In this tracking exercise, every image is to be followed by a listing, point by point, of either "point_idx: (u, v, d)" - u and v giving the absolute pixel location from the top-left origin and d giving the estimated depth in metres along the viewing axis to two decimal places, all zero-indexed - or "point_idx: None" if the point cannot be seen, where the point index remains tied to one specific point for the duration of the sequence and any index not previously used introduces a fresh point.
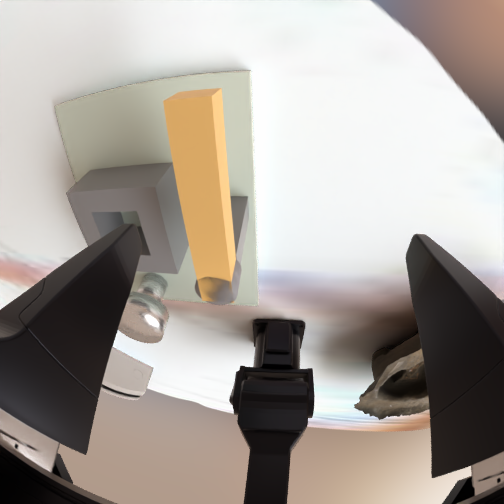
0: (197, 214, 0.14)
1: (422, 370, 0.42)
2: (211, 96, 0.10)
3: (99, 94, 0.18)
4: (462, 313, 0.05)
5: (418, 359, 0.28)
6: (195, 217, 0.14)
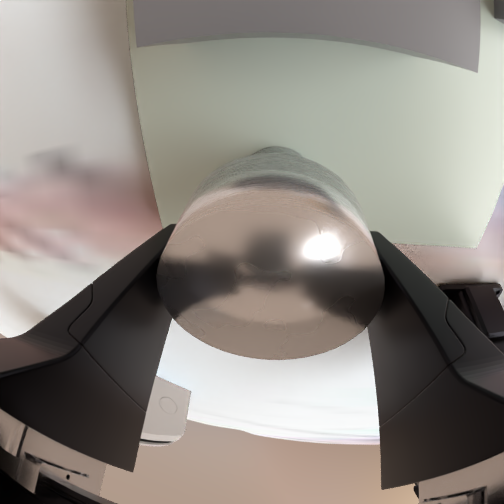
0: None
1: None
2: None
3: None
4: (404, 316, 0.06)
5: None
6: None
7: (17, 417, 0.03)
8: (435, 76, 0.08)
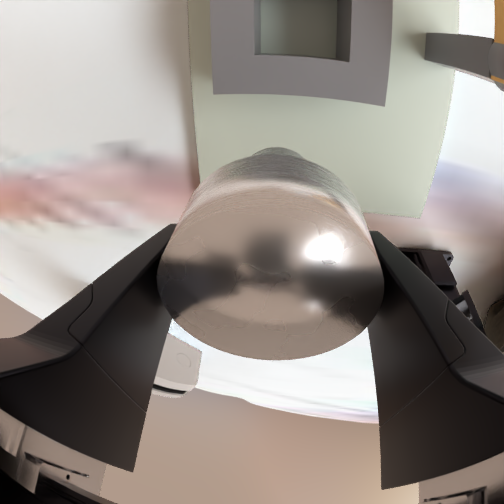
0: None
1: None
2: None
3: None
4: (404, 316, 0.06)
5: None
6: None
7: (17, 417, 0.03)
8: None
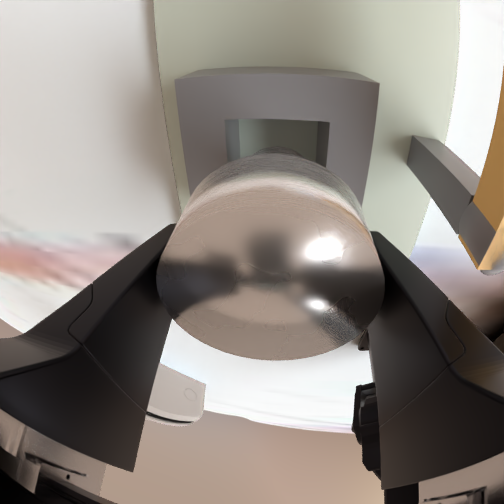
0: None
1: None
2: None
3: None
4: (404, 316, 0.06)
5: None
6: None
7: (17, 417, 0.03)
8: None
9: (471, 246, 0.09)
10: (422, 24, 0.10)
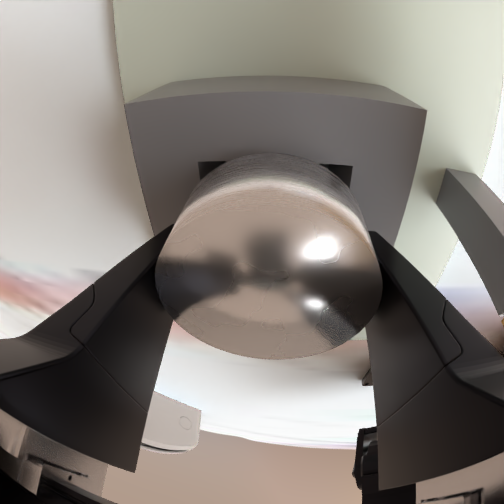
0: None
1: None
2: None
3: None
4: (401, 316, 0.06)
5: None
6: None
7: (19, 418, 0.03)
8: None
9: None
10: (465, 26, 0.06)
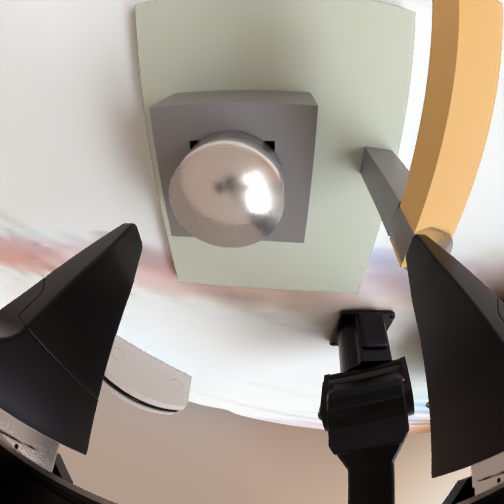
0: (463, 128, 0.07)
1: None
2: (501, 3, 0.03)
3: None
4: (462, 313, 0.05)
5: None
6: (459, 132, 0.07)
7: None
8: (312, 215, 0.21)
9: (396, 246, 0.12)
10: (374, 43, 0.12)
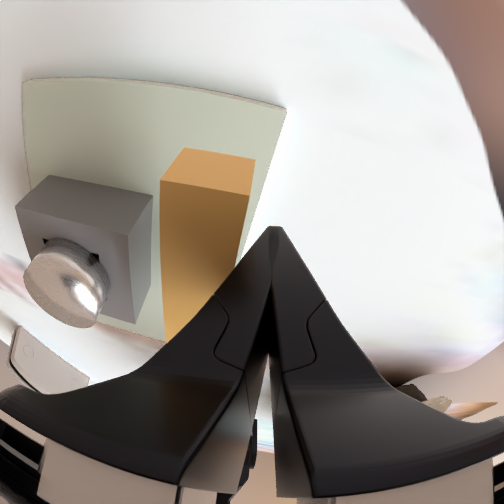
0: None
1: None
2: (249, 195, 0.06)
3: (79, 82, 0.12)
4: (271, 314, 0.06)
5: None
6: None
7: (202, 487, 0.02)
8: (160, 291, 0.23)
9: None
10: (223, 151, 0.15)
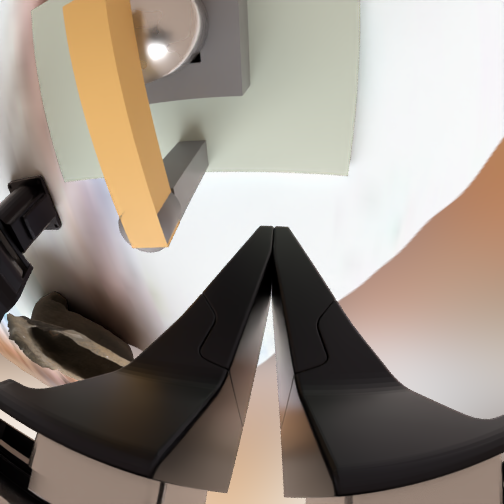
0: (101, 119, 0.09)
1: (61, 335, 0.43)
2: None
3: (357, 13, 0.12)
4: (280, 315, 0.06)
5: (91, 347, 0.31)
6: (99, 125, 0.09)
7: (181, 483, 0.02)
8: None
9: None
10: (309, 139, 0.18)
